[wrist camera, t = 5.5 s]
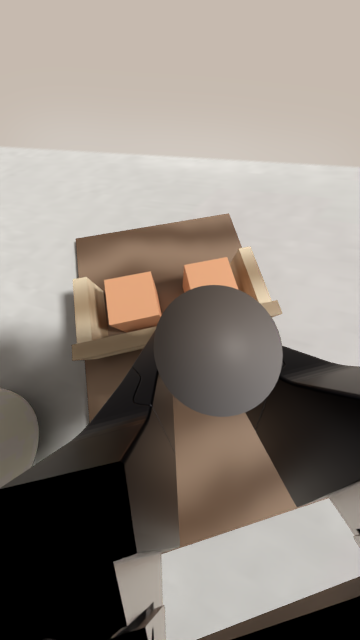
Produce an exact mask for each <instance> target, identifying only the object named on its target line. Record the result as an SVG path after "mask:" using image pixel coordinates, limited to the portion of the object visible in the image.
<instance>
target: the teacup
mask: <svg viewBox="0 0 360 640" xmlns="http://www.w3.org/2000/svg"><path fill="white" fill-rule="evenodd" d="M38 441H39V426H38V421H37V417H36V415H35V412H34V410H33V409H32V407H31V406H30V404H29V403H28V402H27V401H26V400H25V399H24V398H23V397H21V396H20V395H18V394H16V393H15V392H12V391H10V390H6V389H2V388H0V488H1V487H2V486H4V485H5V484H7V483H8V482H10V481H11V480H13V479H14V478H16V477H17V476H19V475H20V474H22V473H23V472H25V471H26V470H28V469H29V468H31V467H32V464H33V462H34V459H35V455H36V452H37V448H38Z"/></svg>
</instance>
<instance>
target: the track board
mask: <svg viewBox="0 0 360 640" xmlns="http://www.w3.org/2000/svg"><path fill="white" fill-rule="evenodd" d="M76 248H77V262H78V275H79V278H83V277H87V278H88V279H90V280H91V281H92V282H93V283H94V284H96V285H97V286H98V287H99V288H100V289H101V290H103V294H104V302H105V311H106V320H107V329H108V337H110V336H115V335H119V334H124V333H129V332H124V331H122V330H120V329H117V328H115V327H112V326H110V325H109V318H108V310H107V301H106V293H105V284H104V280H107V279H112V278H118V277H123V276H128V275H134V274H139V273H144V272H150V271H151V274H152V277H153V280H154V283H155V287H156V290H157V294H158V299H159V304H160V308H161V313H162V314H163V312H164V311H165V309H166V308H167V307H168V306H169V304H170V303H171V302H172V301H173V300H174V299H176V298H177V297H178V296H180V295H181V294H183V293H184V290H183V286H182V285H183V273H184V265H187V264H192V263H197V262H203V261H208V260H213V259H219V258H224V257H227V258H228V261H229V264H230V263H231V261H232V259H233V258H234V256H235V254H236V252H237V251H238V249H239V248H242V247H241V244H240V241H239V239H238V236H237V233H236V231H235V228H234V226H233V223H232V220H231V218H230V215H229V214H223V215H217V216H211V217H205V218H199V219H193V220H186V221H180V222H174V223H168V224H162V225H156V226H150V227H144V228H138V229H132V230H126V231H120V232H114V233H108V234H102V235H96V236H90V237H84V238H77V239H76ZM154 327H156V326H154ZM150 328H152V327H150ZM145 329H147V328H145ZM141 330H142V329H141ZM136 331H138V330H136ZM131 332H133V331H131ZM142 350H143V349H140V350H135V351H131V352H127V353H122V354H118V355H113V356H109V357H105V358H100V359H90V360H85V370H86V383H87V397H88V410H89V423H90V422H91V420H92V419H93V418H94V417H95V415H96V414H97V413H98V412H99V410H100V409H101V408H102V406H103V405H104V404H105V403H106V401H107V400H108V399H109V398H110V396H111V395H112V394H113V392H114V391H115V390H116V388H117V387H118V386H119V385H120V383H121V382H122V380H123V379H124V377H125V376H126V374H127V373H128V371H129V370H130V368H131V367H132V365H133V364H134V362H135V361H136V359H137V358H138V356H139V354H140V353H141V351H142ZM173 412H174V432H175V455H176V474H177V495H178V516H179V537H180V547H179V548H181V547H184V546H187V545H190V544H193V543H196V542H199V541H202V540H205V539H208V538H211V537H214V536H217V535H220V534H223V533H226V532H229V531H232V530H235V529H238V528H241V527H244V526H247V525H250V524H253V523H256V522H259V521H261V520H264V519H267V518H270V517H273V516H276V515H279V514H282V513H285V512H288V511H291V510H294V509H297V507H296V505H295V503H294V502H293V500H292V498H291V496H290V494H289V492H288V491H287V489H286V487H285V485H284V483H283V481H282V480H281V478H280V476H279V474H278V472H277V470H276V469H275V467H274V465H273V463H272V461H271V459H270V457H269V456H268V454H267V452H266V450H265V448H264V446H263V445H262V443H261V441H260V439H259V437H258V435H257V434H256V431H255V430H254V428H253V426H252V424H251V422H250V420H249V419H248V417H247V415H246V413H242V414H239V415H235V416H229V417H216V416H209V415H205V414H201V413H199V412H197V411H194V410H192V409H190V408H189V407H187V406H185V405H184V404H183V403H181V402H180V401H179V400H178V399H176V398H175V397H174V395H173ZM328 498H329V497H328ZM325 499H327V498H325ZM322 500H324V499H322ZM319 501H321V500H319ZM316 502H318V501H316ZM313 503H315V502H313ZM310 504H312V503H310ZM307 505H309V504H307ZM304 506H306V505H304ZM301 507H303V506H301ZM298 508H300V507H298ZM176 549H178V548H176ZM173 550H175V549H173ZM170 551H172V550H170ZM167 552H169V551H167ZM164 553H166V552H164ZM161 554H163V553H161Z"/></svg>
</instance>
